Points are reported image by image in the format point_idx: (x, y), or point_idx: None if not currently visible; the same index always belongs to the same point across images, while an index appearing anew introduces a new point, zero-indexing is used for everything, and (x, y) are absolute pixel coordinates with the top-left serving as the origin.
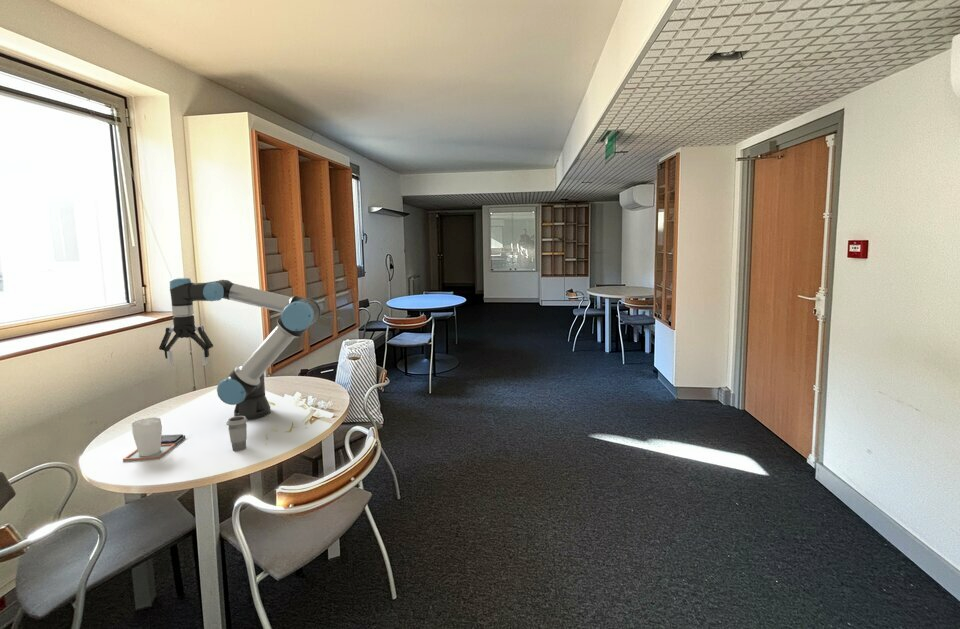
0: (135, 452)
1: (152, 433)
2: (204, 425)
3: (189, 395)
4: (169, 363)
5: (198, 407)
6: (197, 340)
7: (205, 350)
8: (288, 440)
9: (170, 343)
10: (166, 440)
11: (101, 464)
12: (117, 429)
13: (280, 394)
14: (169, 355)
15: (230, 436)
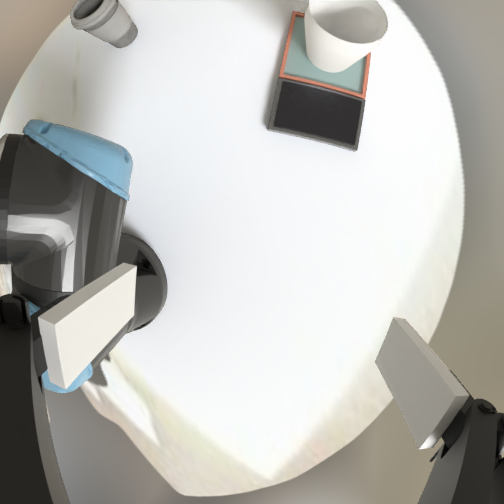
0: (364, 67)
1: (317, 1)
2: (236, 225)
3: (320, 459)
4: (406, 330)
5: (287, 388)
6: (1, 438)
7: (34, 326)
8: (45, 73)
9: (477, 470)
10: (306, 91)
11: (408, 43)
12: (448, 275)
13: (107, 401)
14: (431, 374)
15: (124, 9)
